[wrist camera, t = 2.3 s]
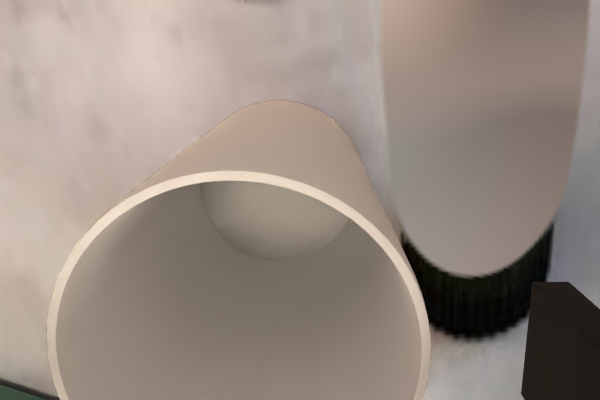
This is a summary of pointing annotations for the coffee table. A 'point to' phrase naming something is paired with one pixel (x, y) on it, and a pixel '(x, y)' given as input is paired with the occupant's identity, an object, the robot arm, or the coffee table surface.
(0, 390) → the green bottle
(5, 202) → the coffee table surface
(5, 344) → the coffee table surface
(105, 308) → the cup
